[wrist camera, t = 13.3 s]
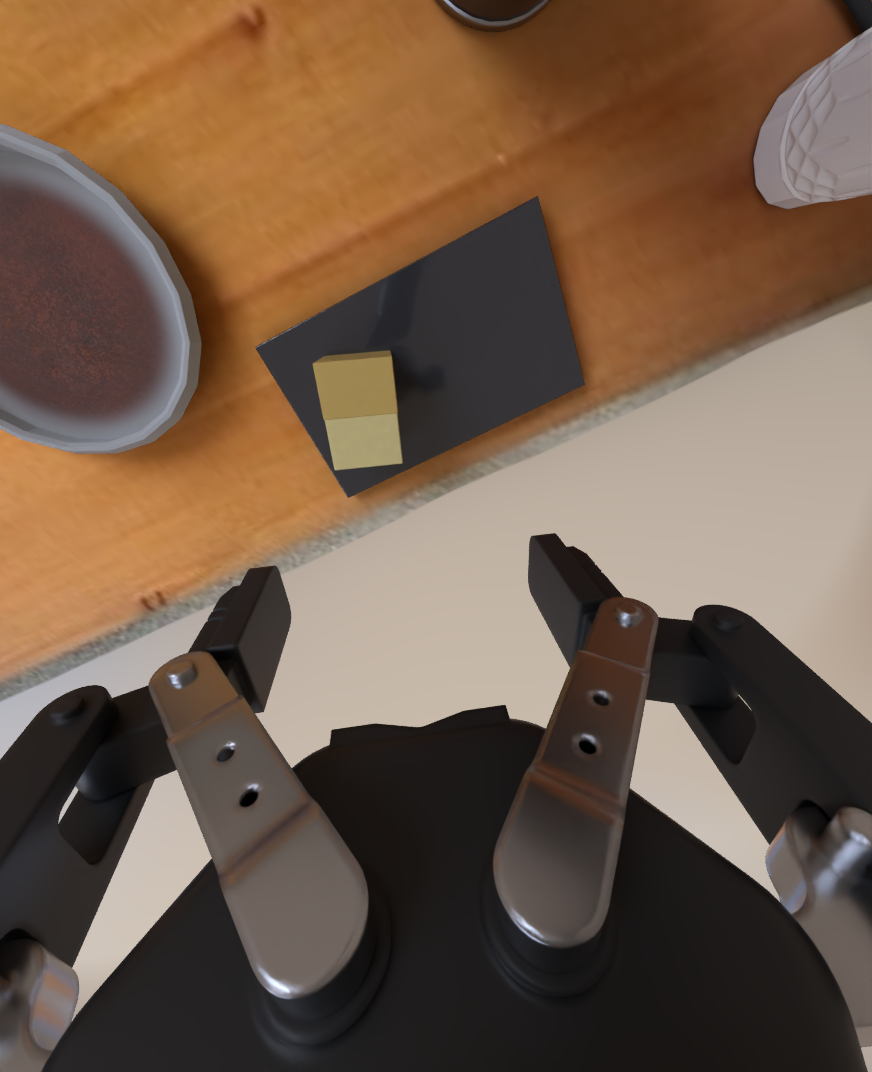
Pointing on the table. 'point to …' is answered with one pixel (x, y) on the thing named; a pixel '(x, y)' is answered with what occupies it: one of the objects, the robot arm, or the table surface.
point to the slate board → (445, 342)
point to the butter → (359, 409)
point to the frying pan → (86, 309)
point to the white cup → (820, 133)
